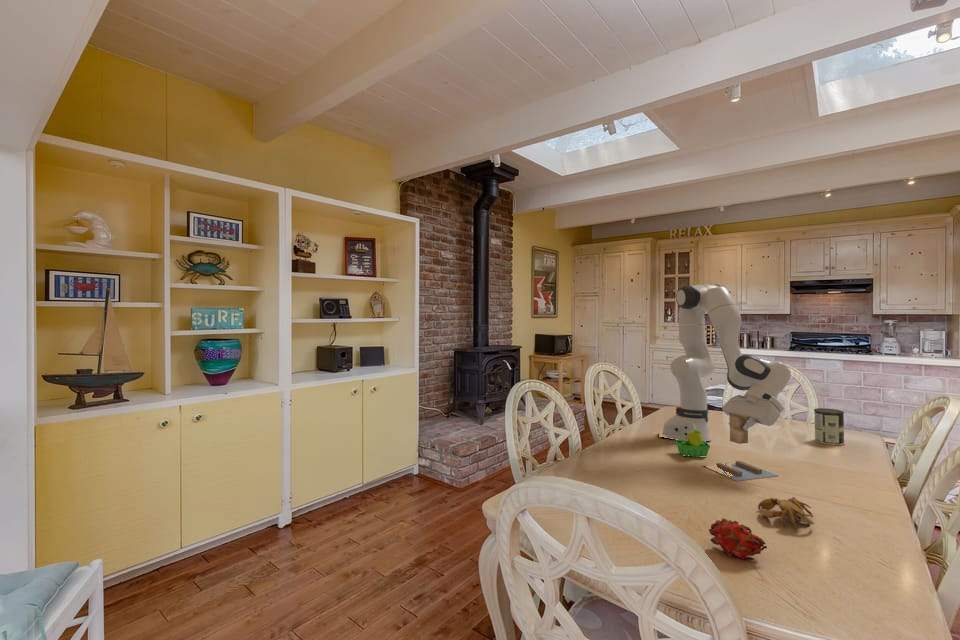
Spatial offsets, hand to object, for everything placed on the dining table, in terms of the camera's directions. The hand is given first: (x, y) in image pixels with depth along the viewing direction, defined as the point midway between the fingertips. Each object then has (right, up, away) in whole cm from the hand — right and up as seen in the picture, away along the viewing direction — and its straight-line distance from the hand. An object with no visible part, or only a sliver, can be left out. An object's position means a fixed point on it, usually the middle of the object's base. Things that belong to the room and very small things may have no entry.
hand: (737, 427), depth 157 cm
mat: (+1, -16, 0) cm, 16 cm away
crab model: (-9, -17, -37) cm, 41 cm away
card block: (+1, -5, 0) cm, 5 cm away
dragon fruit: (-33, -17, -54) cm, 66 cm away
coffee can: (+61, -15, +34) cm, 71 cm away
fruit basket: (-7, -16, +18) cm, 25 cm away
